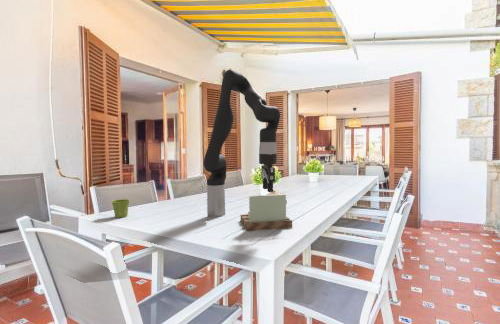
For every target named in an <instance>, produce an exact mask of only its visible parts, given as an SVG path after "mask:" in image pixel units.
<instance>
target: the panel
mask: <svg viewBox="0 0 500 324" xmlns="http://www.w3.org/2000/svg"><path fill="white" fill-rule="evenodd" d="M248 197H249V198H248V200H249V201H248V202H249V204H248V205H249V211H250V223H251V222H267V221H282V220H286V217H287V204H286V200H287V195H286V194H281V195H267V194H266V195H265V194H264V195H249V196H248ZM249 211H248V212H249Z"/></svg>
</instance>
